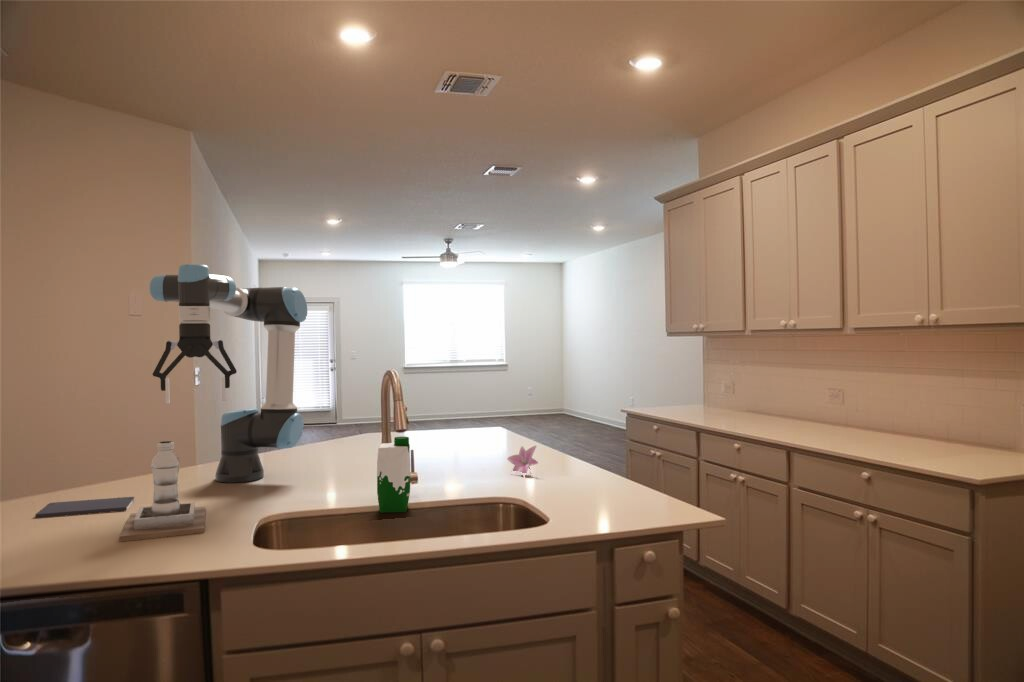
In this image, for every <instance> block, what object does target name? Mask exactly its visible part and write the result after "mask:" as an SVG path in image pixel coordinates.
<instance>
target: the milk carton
mask: <svg viewBox="0 0 1024 682" xmlns="http://www.w3.org/2000/svg"><path fill="white" fill-rule="evenodd" d="M393 439H394V440H393V442H386V443H381V444H380V445H379V447H378V450H377V451H378V452H377V459H376V461H377V462H376V486H377V487H376V493H377V494H376V495H377V502H378V508H379V509H378V510H379V513H381V514H382V513H407V510H408V507H409V501H410V495H411V455H410V454H411V451H410V437H409V436H396V437H395V436H394V438H393Z"/></svg>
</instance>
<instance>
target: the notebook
mask: <svg viewBox="0 0 1024 682" xmlns="http://www.w3.org/2000/svg"><path fill="white" fill-rule="evenodd" d="M134 501H135V496H126V497H125V496H124V497H122V496H121V497H112V498H111V497H110V498H97V499H85V500H72V501H71V500H70V501H69V500H68V501H56V502H49V503H48V504H46V505H45V506H44V507H43V508H42V509H40V510H39V511H37V512H36V513H35V514H34V515H35V516H34V518H35V519H40V518H50V517H52V518H53V517H54V516H55V517H65V515H67V516H78V514H80V515H89V514H88V513H92V514H100V513H99V512H105V513H111V512H110V511H117V512H125V511H124V510H128V509H129V507H130V506H131V505H132V504H133V503H134ZM130 504H131V505H130ZM127 508H128V509H127Z"/></svg>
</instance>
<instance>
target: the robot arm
mask: <svg viewBox="0 0 1024 682" xmlns="http://www.w3.org/2000/svg"><path fill="white" fill-rule="evenodd" d="M149 293H150V295H151V297H152V298H153V300H155V301H157V302H165V303H166V302H167V303H168V302H175V303H178V321H179V322H181V323H179V325H178V328H179V329H178V330H179V331H178V335H179V336H178V341H171V340H167V341H166V342H165V349H164V351H163V353H162V355H161V358H160V359H159V360H158V363H157V364H156V366H155V369H154V370H153V372H152V376H153V377H155V378H156V377H157V378H158V379H160V390H161V392H165V404H167V405H168V404H170V403H171V401H170V400H171V397H170V396H171V394H170V393H171V392H170V391H171V389H170V388H171V387H170V377H168V375H169V374H170V373H171V372H172V371H173V370H174V368H175V367H177V366H178V364H179V363H180V362H181V361H182V360H183V359H184V358H185V357H186V358H203V357H206V358H207V359H208V360H209V361H210V362H211V363H212V364H213V365H214V366H215V367H216V368H217V369H218V370H219V371H220V372H221V373H222V374H223V375H222V376H221V391H222V392H221V397H222V398H221V399H222V402H226V389H230V388H231V387H230V386H231V385H230V384H231V383H230V381H231V380H230V378H231V376H233V375H236V374H237V371H238V370H237V368H236V367H235V364H234V363H233V362H232V360H231V358H230V357H229V355H228V353H227V351H226V349H225V347H224V341H223V340H222V339H220V340H214V341H212V340H211V324H210V323H209V322H210V321H211V310H214V311H215V310H216V311H220V312H223V313H224V314H226V315H227V316H230V317H235V318H238V319H243V320H247V321H252V322H261V323H262V322H263V327H264V328H265V330H267V356H266V357H267V358H266V359H267V360H266V361H267V363H266V383H265V384H266V387H265V389H266V390H265V402H264V404H263V405H262V406H261V407H260V411H259V409H258V408H257V407H256V408H254V407H253V408H245V409H238V410H232V411H227V412H224V413H223V414H222V415H221V418H220V419H221V421H220V449H221V451H220V452H221V454H220V460H219V461H218V465H217V468H216V471H215V481H216V482H218V483H219V482H220V483H231V484H232V483H245V482H251V481H252V482H253V481H256V480H260V479H262V478H264V477H265V470H264V466H263V464H262V461H261V458H260V455H259V448H260V449H261V448H262V449H263V448H264V449H278V450H281V449H291V448H294V447H296V445H297V444H298V443H299V442H300V441H301V438H302V435H303V431H304V427H305V426H304V425H305V420H304V417H303V416H302V414H300V413H299V412H298V406H296V405H295V403H294V379H295V378H294V374H295V372H294V371H295V349H296V347H295V345H296V343H295V341H296V332H297V331H298V330H299V329H300V328H301V323H302V322H304V321H306V319H307V316H308V305H307V304H308V303H307V299H306V297H305V296H304V294H303V292H302V291H301V289H300V288H299V289H298V288H297V287H291V286H290V287H289V286H282V287H281V286H280V287H279V286H277V287H275V286H273V287H247V288H244V287H243V288H239V287H236V283H235V281H234V279H233V278H232V277H230V276H227V275H224V274H218V273H217V274H216V273H215V274H214V273H211V272H210V268H209V266H208V265H206V264H197V263H196V264H195V263H186V264H185V263H184V264H183V263H182V264H181V265H179V266H178V272H177V274H165V273H164V274H159V275H155V276H153V277H152V278H151V279H150V282H149ZM213 346H214V347H215V349H217V350H218V349H219V352H220V353H221V356H222V358H223V359H224V361H225V363H226V364H227V366H228V368H229V370H227V368H226V367H225V366H224V365H222V364H221V362H220V361H219V360H218V359H217V358H216V357H215V356H214V355H213V354H212V353H211V351H210V349H211V348H212V347H213ZM176 347H178V349H179V350H180V351H181V352H180V353H179V354H178V356H176V357H175V359H174V360H173V361H172V362H171V363H170V365H168V367H167V368H166V369H165V370H164V371H163V372H161V370H162V368H163V366H164V364H165V363H166V361H167V359H168V357H169V355H170V353H171V352H172V351H171V350H174V349H175V348H176Z"/></svg>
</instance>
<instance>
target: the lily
mask: <svg viewBox="0 0 1024 682" xmlns="http://www.w3.org/2000/svg"><path fill="white" fill-rule="evenodd" d="M536 449H537V445H533V446H531V447H529V448H528V449H527V450H526V449H525V448H524V446H523V445H521V446H520V448H519V453H518V454H512V455H510V456H508V457H507V461H508V462H509V463H511V464H512V465H514V466H513V468H512V470H513V471H517V472H519V473H520V472H522V473H528V469H530V470H531V468H530V467H531V466H535V465H538V464H539V462H538V460H537V459H535V458H533V456H534V453H535V451H536Z"/></svg>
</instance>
